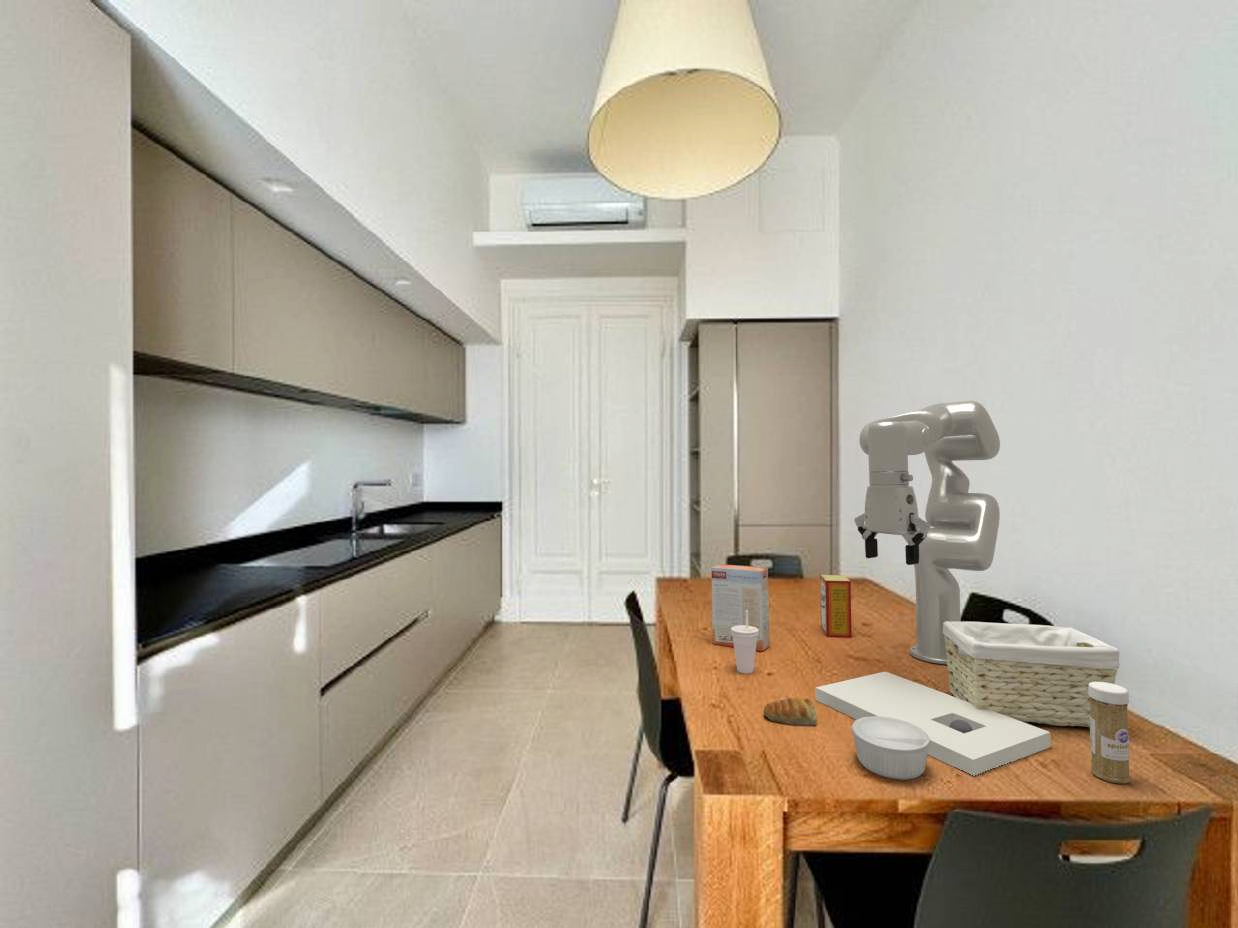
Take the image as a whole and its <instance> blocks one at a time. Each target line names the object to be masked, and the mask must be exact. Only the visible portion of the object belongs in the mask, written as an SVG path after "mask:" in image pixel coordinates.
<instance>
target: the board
mask: <svg viewBox="0 0 1238 928" xmlns="http://www.w3.org/2000/svg"><path fill="white" fill-rule="evenodd" d="M814 689H815V690H814V691H815V695H814V696H815V701H817V702H819V703H821V704H823V705H825V706H827V707H830V708H831V709H833V710H836V712H837V711H838V712H839V713H842V714H844V715H846V716H848V717H850V718H852V719H854V720H855V721H856V720H858V719H860V718H863V717H874V716H877V717H889V718H895V719H899V720H903V721H906V722H909V723H911V724H913V725H915V726H917V727H919V728H921V729H922V730H923V731H925V732H926V733H927V735H928V736H929V738H930V747H929V749H928V754H927V756H930V757H933V758H935V759H937V760H939V761H941V762H943V763H945V764H947V765H949V766H951V767H953V768H955V767H956V768H955V769H957V768H958V769H957V770H959V769H960V770H959V771H961V770H963V771H965V772H967V773H969V774H971V775H970V776H972V775H973V776H972V777H975V775H976V776H978V774H979V775H981V774H983V773H982V772H984V771H987V770H989V771H991V770H990V769H992V768H995V767H997V768H1000V767H1002V766H1001V765H1003V766H1005V765H1008V764H1010V763H1009V762H1011V763H1013V762H1015V761H1018V759H1019V760H1021V759H1024V758H1027V757H1028V756H1029V757H1030V756H1032V755H1033V754H1034V755H1035V754H1037V753H1039V752H1042V751H1045V750H1048V749H1050V748H1051V745H1052V744H1051V731H1048V730H1046V729H1043V728H1040V727H1037V726H1034V725H1032V724H1029V723H1028V722H1021V721H1018V720H1016V719H1013V718H1010V717H1008V716H1005V715H1002V714H999V713H997V712H994V711H991V710H985V709H977V708H975V706H974V705H973V704H972V703H969V702H967V701H964V700H961V699H959V698H956V697H955V696H954V695H953V696H952V695H950V694H947V693H944V692H942V691H940V690H936V689H934V688H931V687H929V686H927V685H924V684H923V685H922V684H920V683H917V682H915V681H912V680H909V679H907V678H904V677H901V676H898V675H895V674H893V673H890V672H888V671H882V672H876V673H873V674H868V675H864V676H860V677H859V676H858V677H856V678H851V679H847V680H842V681H838V682H833V683H828V684H823V685H821V686H816V687H814ZM958 719H959V720H964V721H966V722H967V723H968V724H969V725H970V726H971V727H972V729H973V731H970V732H967V733H962V732H959V731H957V730H954V729H952V728H950V727H949V726H950V724H951V722H952V721H954V720H958ZM1007 763H1008V764H1007ZM1004 764H1005V765H1004ZM999 766H1000V767H999ZM995 769H996V768H995ZM992 770H993V769H992ZM963 771H962V772H963ZM965 772H964V773H965ZM987 772H988V771H987ZM967 773H966V774H967ZM980 773H981V774H980ZM984 773H985V772H984ZM969 774H968V775H969Z"/></svg>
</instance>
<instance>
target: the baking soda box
mask: <svg viewBox="0 0 1238 928" xmlns="http://www.w3.org/2000/svg"><path fill="white" fill-rule="evenodd" d="M819 587H820V588H819V589H820V591H819V592H820V595H819V596H820V597H819V598H820V628H822V629H821V630H822V631H823V634H824V636H826V638H837V639H839V638H840V639H841V638H842V639H852V596H851V595H852V590H851V589H852V585H851V580H850V579H849V578H847V576H845V575H844V574H819Z"/></svg>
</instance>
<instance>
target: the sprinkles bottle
mask: <svg viewBox="0 0 1238 928" xmlns="http://www.w3.org/2000/svg"><path fill="white" fill-rule="evenodd" d="M1129 694H1130V693H1129V690H1128V689H1127V688H1125V687H1123V686H1121V685H1118V684H1115V683H1114V684H1111V683H1106V682H1091V683H1089V685H1088V695H1089V696H1090V697H1089V699H1090V727H1089V734H1090V735H1089V736H1090V738H1089V739H1090V744H1089V745H1090V752H1091V753H1090V754H1091V767H1090V772H1091V773H1092V774H1093V775H1094V776H1096V777H1097V778H1099V779H1101V780H1103V781H1106V782H1109V783H1114V784H1128V783H1130V782H1131V776H1130V738H1129V722H1128V721H1129V720H1128V719H1129V718H1128V717H1129V716H1128V704H1129V702H1130V701H1129V699H1130V698H1129V696H1130V695H1129Z"/></svg>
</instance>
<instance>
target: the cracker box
mask: <svg viewBox="0 0 1238 928" xmlns="http://www.w3.org/2000/svg"><path fill="white" fill-rule="evenodd" d="M768 569H769V568H768V567H763V566H762V567H761V566H759V567H758V566H751V565H750V566H748V565H734V564H717V565H713V566H711V617H712V622H711V623H712V628H711V629H712V644H713V645H719V646H725V647H732V648H734V643H733V636H732V634H731V628H732V627H733V626H739V625H746V610H748V626H753V627H756V628H757V629H758V630H759V634H758V635H757V643H756V650H757V651H758V652H764V651H765V650H767V649H768V648H769V647H770V645H771V644H770V610H769V609H770V606H769V604H770V601H769V598H770V597H769V570H768Z"/></svg>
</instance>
